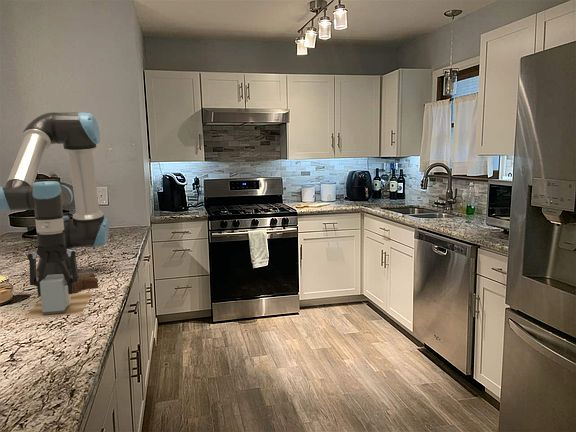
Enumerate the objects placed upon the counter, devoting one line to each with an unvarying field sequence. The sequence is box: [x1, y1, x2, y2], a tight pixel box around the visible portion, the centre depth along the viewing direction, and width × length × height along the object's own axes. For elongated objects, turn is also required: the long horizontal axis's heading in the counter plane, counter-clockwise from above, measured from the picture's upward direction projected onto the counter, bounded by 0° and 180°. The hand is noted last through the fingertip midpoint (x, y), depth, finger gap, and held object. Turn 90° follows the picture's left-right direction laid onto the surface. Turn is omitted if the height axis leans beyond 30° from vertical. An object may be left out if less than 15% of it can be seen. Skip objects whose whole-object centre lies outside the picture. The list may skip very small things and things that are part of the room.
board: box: [23, 291, 94, 320], centre depth 147 cm, size 22×16×1 cm
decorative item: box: [71, 273, 99, 294], centre depth 167 cm, size 16×6×15 cm
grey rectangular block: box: [40, 274, 71, 315], centre depth 142 cm, size 9×6×10 cm, turn 14°
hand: (57, 305), depth 142 cm, fingers closed on grey rectangular block, 6 cm apart
